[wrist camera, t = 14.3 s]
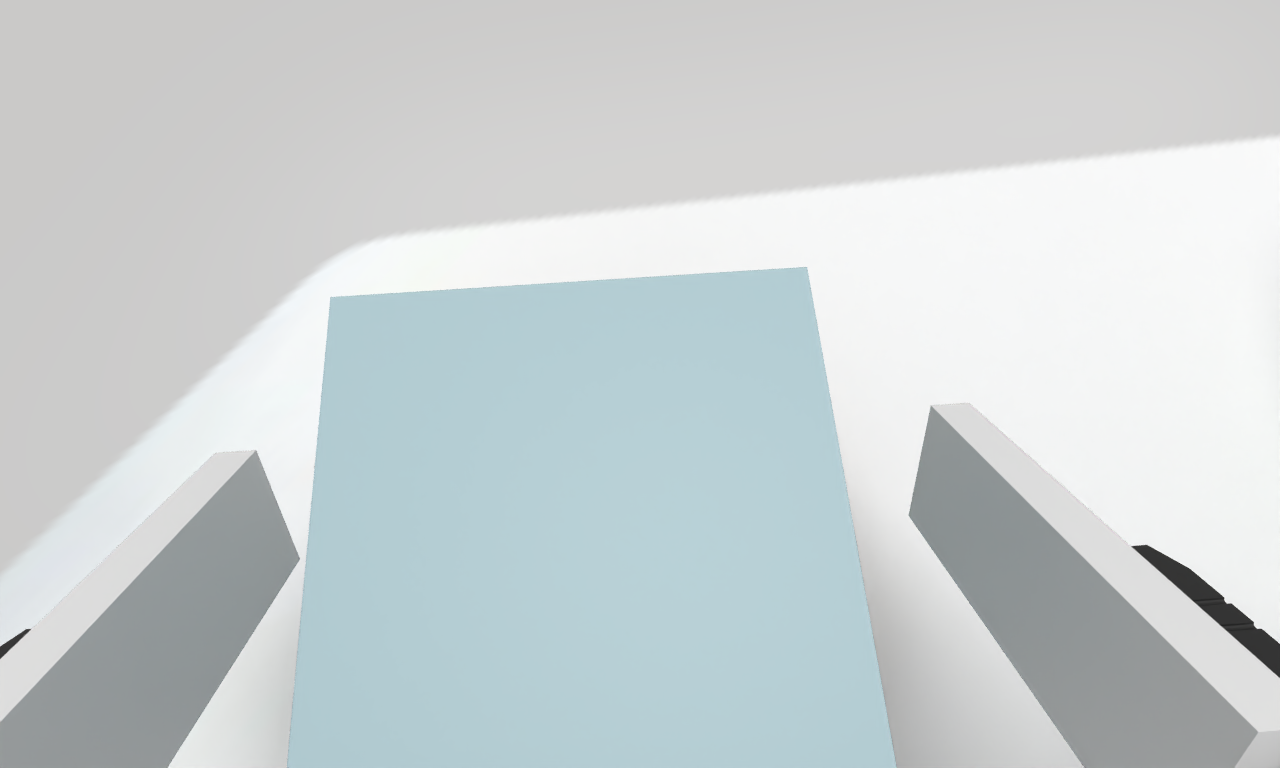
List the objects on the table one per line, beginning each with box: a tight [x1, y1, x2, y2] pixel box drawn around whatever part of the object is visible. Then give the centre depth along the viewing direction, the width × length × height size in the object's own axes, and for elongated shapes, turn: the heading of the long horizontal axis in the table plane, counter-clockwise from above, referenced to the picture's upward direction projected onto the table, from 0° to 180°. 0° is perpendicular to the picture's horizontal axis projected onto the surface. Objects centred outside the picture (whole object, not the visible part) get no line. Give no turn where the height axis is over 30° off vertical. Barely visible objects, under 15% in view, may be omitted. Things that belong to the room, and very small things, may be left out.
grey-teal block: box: [287, 267, 897, 768], centre depth 12 cm, size 6×6×12 cm
